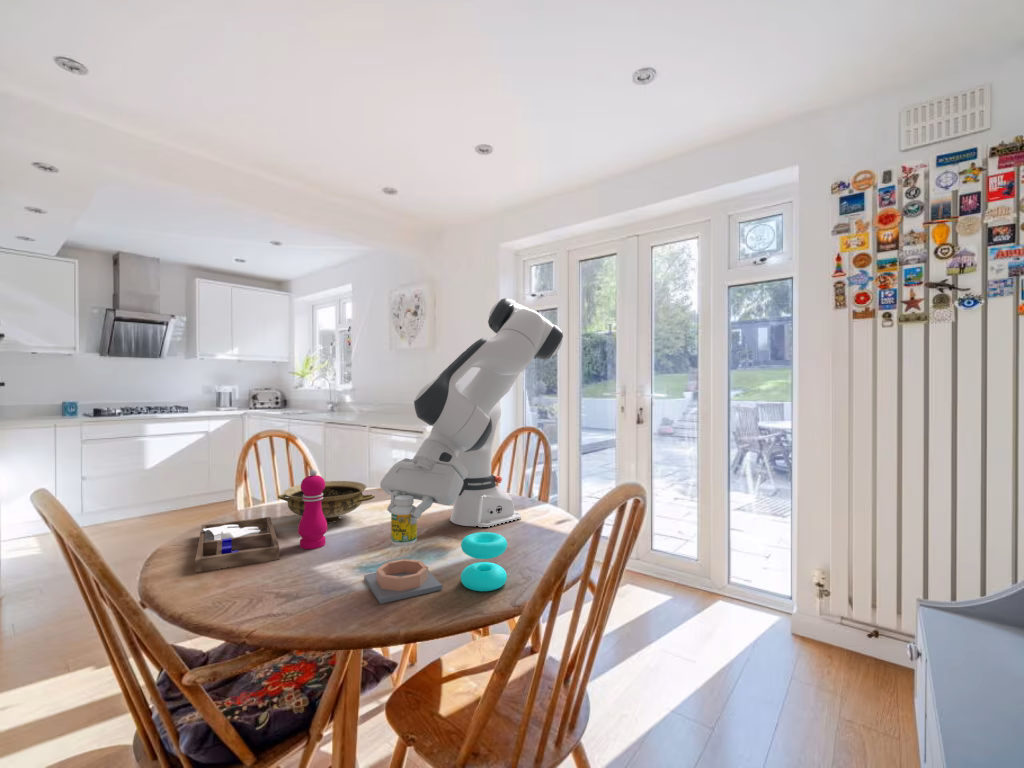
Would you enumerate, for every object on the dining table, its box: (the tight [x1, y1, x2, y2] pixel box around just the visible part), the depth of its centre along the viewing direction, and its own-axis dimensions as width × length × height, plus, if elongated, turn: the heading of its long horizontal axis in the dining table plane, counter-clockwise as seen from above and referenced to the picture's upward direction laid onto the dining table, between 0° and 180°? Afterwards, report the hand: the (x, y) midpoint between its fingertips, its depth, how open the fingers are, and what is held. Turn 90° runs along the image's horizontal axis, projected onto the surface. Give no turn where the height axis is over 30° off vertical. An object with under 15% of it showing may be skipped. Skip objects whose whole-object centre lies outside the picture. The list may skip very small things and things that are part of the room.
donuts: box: [460, 531, 508, 592], centre depth 103 cm, size 10×10×10 cm
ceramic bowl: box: [277, 480, 376, 524], centre depth 148 cm, size 30×24×10 cm
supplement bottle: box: [390, 495, 418, 547], centre depth 102 cm, size 5×5×10 cm
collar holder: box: [363, 558, 443, 605], centre depth 102 cm, size 13×13×4 cm
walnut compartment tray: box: [194, 516, 280, 574], centre depth 124 cm, size 17×29×3 cm, turn 31°
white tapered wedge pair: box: [200, 525, 261, 542], centre depth 128 cm, size 12×4×11 cm
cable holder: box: [222, 538, 240, 554], centre depth 116 cm, size 8×4×4 cm, turn 31°
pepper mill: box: [297, 469, 328, 550], centre depth 125 cm, size 7×7×20 cm
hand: (402, 514), depth 101 cm, fingers closed on supplement bottle, 5 cm apart
